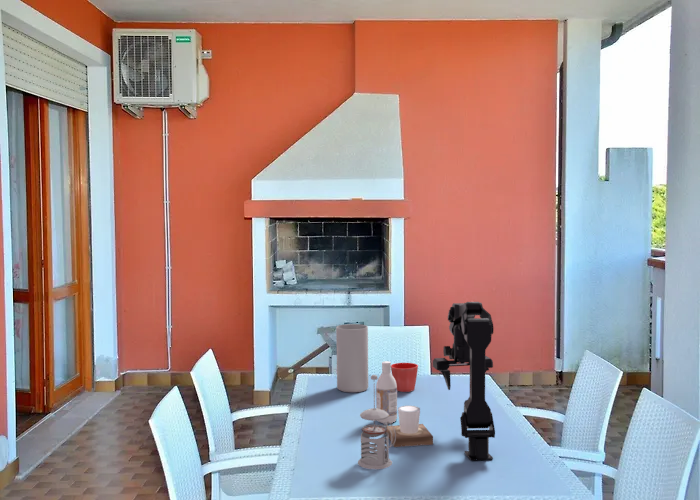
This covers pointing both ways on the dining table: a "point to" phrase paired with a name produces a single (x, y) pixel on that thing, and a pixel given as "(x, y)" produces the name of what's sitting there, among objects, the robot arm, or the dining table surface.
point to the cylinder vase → (352, 357)
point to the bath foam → (387, 393)
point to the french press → (381, 455)
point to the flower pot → (405, 376)
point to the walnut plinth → (410, 437)
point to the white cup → (409, 419)
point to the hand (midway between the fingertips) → (462, 389)
